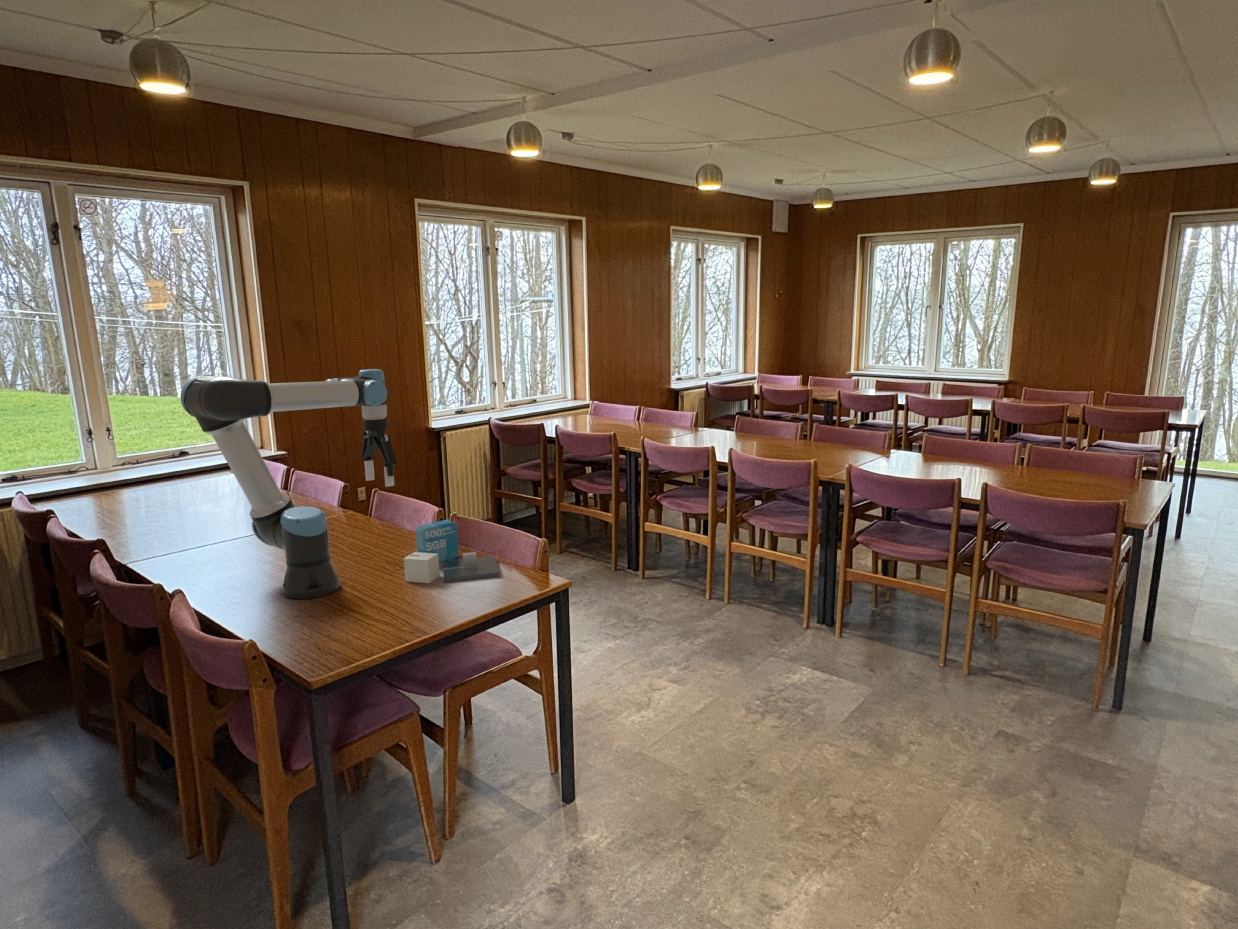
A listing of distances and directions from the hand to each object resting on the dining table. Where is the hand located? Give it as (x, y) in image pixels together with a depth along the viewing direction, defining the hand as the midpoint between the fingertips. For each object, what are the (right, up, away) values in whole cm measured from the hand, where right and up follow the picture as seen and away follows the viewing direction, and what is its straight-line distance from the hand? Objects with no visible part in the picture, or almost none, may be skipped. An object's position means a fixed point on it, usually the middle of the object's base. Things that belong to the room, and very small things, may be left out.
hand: (380, 483), depth 251 cm
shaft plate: (+33, -26, -17) cm, 45 cm away
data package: (+21, -24, -6) cm, 33 cm away
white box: (+20, -28, -23) cm, 41 cm away
